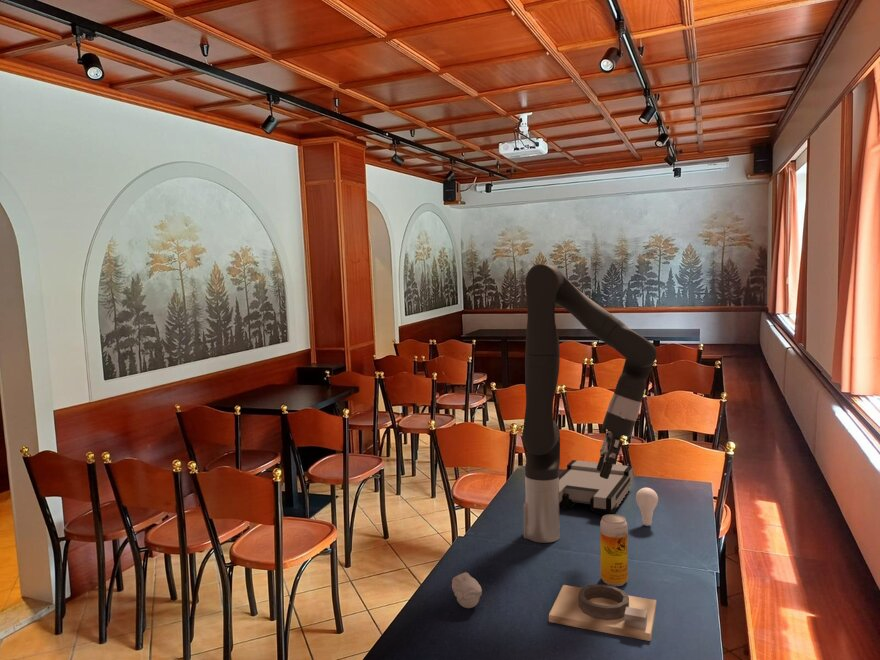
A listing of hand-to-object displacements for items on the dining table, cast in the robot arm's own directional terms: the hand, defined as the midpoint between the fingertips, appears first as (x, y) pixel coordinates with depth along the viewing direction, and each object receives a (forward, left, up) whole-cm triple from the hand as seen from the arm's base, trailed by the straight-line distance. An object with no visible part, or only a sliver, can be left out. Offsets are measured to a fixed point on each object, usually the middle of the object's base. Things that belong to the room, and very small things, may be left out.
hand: (601, 474), depth 160 cm
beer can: (+5, -15, -21) cm, 26 cm away
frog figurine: (-23, -38, -21) cm, 49 cm away
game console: (-10, +40, -21) cm, 46 cm away
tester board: (+5, -31, -21) cm, 38 cm away
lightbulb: (+9, +23, -21) cm, 32 cm away
